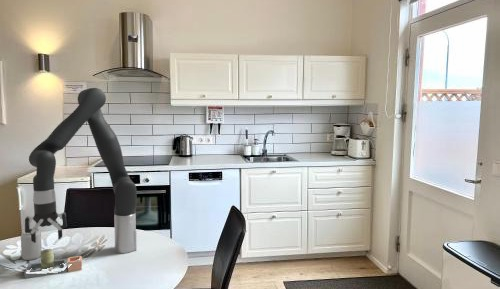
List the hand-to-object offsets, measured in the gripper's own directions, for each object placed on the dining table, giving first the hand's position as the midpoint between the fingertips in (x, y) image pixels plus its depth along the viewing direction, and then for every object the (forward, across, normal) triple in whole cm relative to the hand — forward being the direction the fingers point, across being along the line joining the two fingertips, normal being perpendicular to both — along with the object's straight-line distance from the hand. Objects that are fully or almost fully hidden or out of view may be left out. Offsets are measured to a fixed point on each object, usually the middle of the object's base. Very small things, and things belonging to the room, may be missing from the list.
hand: (47, 240), depth 140 cm
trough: (+12, +1, 0) cm, 13 cm away
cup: (+13, -9, +2) cm, 16 cm away
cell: (+12, +1, 0) cm, 13 cm away
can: (+13, +8, -16) cm, 22 cm away
